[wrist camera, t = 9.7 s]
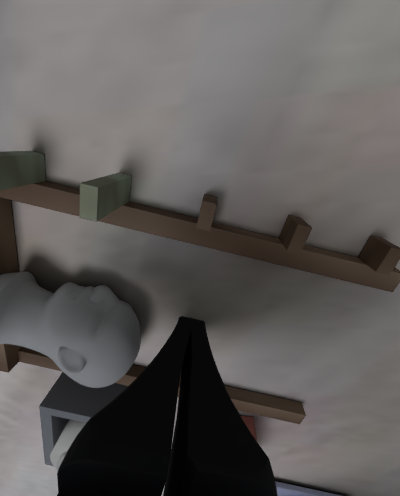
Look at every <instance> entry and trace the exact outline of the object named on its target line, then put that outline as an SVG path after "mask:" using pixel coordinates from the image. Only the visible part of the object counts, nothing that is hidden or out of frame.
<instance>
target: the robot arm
mask: <svg viewBox="0 0 400 496" xmlns="http://www.w3.org/2000/svg"><path fill="white" fill-rule="evenodd" d="M180 375H181V379H180ZM179 382H180V390H179V402H178V412H177V420H176V425H175V431H174V437H173V428H174V420H175V412H176V404H177V396H178V389H179ZM172 437H173V443H172ZM171 446H172V449H171ZM57 476H58V491H59V493H58V495H57V496H161V494H162V491H163V488H164V485H165V489H164V494H163V496H341V495H337V494H332V493H328V492H323V491H318V490H314V489H309V488H304V487H300V486H295V485H290V484H286V483H281V482H276V481H275V479H274V475H273V471H272V468H271V464H270V461H269V458H268V457H267V455H266V454H265V453H264V451H263V450H262V448H261V447H260V446H259V444H258V443H257V441H256V440H255V438H254V437H253V435H252V434H251V432H250V431H249V429H248V427H247V426H246V424H245V423H244V421H243V419H242V418H241V416H240V414H239V412H238V411H237V409H236V407H235V405H234V404H233V402H232V400H231V398H230V396H229V394H228V392H227V390H226V388H225V386H224V383H223V381H222V379H221V377H220V374H219V372H218V369H217V366H216V364H215V361H214V358H213V355H212V352H211V348H210V345H209V341H208V337H207V333H206V327H205V323H204V321H201V320H196V319H192V318H188V317H183V316H181V317H179V320H178V323H177V325H176V327H175V329H174V331H173V332H172V334H171V336H170V337H169V339H168V340H167V342H166V343H165V345H164V346H163V348H162V349H161V350H160V352H159V353H158V354H157V356H156V357H155V358H154V359H153V361H152V362H151V363H150V364H149V365H148V366H147V368H146V369H145V370H144V371H143V372H142V373H141V374H140V375H139V376H138V377H137V378H136V379H135V380H134V381H133V382H132V383H131V384H130V385H129V386H128V387H127V388H126V389H125V390H124V391H123V392H121V393H120V394H119V395H118V396H117V397H116V398H115V399H114V400H112V401H111V402H110V403H109V404H108V405H106V406H105V407H104V408H103V409H101V410H100V411H99V412H97V413H96V414H95V415H94V416H92V417H91V418H90V419H89V420H88V422H87V423H86V424H85V425H84V427H83V428H82V429H81V431H80V432H79V433H78V435H77V436H76V438H75V439H74V441H73V442H72V444H71V446H70V447H69V449H68V451H67V453H66V455H65V457H64V459H63V461H62V463H61V465H60V467H59V469H58V473H57Z"/></svg>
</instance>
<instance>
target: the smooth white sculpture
mask: <svg viewBox="0 0 400 496" xmlns="http://www.w3.org/2000/svg"><path fill="white" fill-rule="evenodd" d="M140 343H141V337H140V325H139V321H138V319H137V316H136V314H135V312H134V311H133V309H132V308H131V306H130V305H129V304H128V303H126V302H125V301H120V300H119V299H118V298H117V296H116V295H115V294H114V293H113V292H112V291H111V289H110V288H109V287H107V286H105V285H99V286H97V287H95V288H94V287H92V286H88V287H84V286H78V285H76V284H74V283H71V282H68V283H65V284H64V285H62V286H61V287H60V288H59V289H58V290H57V291H56V292H55V293H52V292H49V291H47V290H45V289H43V288H42V287H40V286H39V285H38V283H37V281H36V279H35V278H34V276H33V275H32V274H31V273H29V272H17V273H6V274H2V275H0V344H12V345H18V346H22V347H26V348H29V349H32V350H35V351H37V352H40V353H42V354H44V355H46V356H48V357H49V358H51V359H52V360H53V361H54V362H55V364H56V365H57V366H58V367H59V368H60V369H61V370H62V371H63V372H64V373H65V374H66V375H67V376H69V377H70V378H71V379H73V380H74V381H76V382H78V383H79V384H81V385H84V386H87V387H92V388H101V387H106V386H109V385H112V384H114V383H115V382H117V381H118V380H120V379H121V378H122V377H123V376H124V375H125V374H126V373H127V371H128V370H129V369H130V367H131V366H132V364H133V363H134V361H135V359H136V357H137V355H138V352H139V349H140Z"/></svg>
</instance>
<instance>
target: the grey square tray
mask: <svg viewBox="0 0 400 496" xmlns="http://www.w3.org/2000/svg"><path fill="white" fill-rule="evenodd" d="M127 387H128V386H126V385H122V384H118V383H114V384H112V385H109V386H106V387H101V388H92V387H87V386H84V385H81V384H79V383H78V382H76V381H74V380H73V379H71V378H70V377H69V376H67V375H66V374H65V373H64V372H62V374H61V375H60V377H59V378H58V380H57V381H56V383H55V384H54V385H53V387H52V388H51V390H50V391H49V393H48V394H47V396H46V397H45V399H44V400H43V401H42V403H41V404H40V406H39V408H40V418H41V428H42V438H43V448H44V458H45V464H47V465H51V466H53V464H52V463H51V460H50V454H51V452H52V450H53V448H54V446H55V444H56V443H57V441H58V439H59V437H60V435H61V433H62V432H63V430H64V428H65V426H66V424H67V422H68V421H69V419H70V420H75V421H79V422H84V423H87V422H88V420H89V419H90V418H91V417H92V416H94V415H95V414H96V413H97V412H99V411H100V410H101V409H103V408H104V407H105V406H106V405H108V404H109V403H110V402H111V401H112V400H114V399H115V398H116V397H117V396H118V395H119V394H120V393H121V392H123V391H124V390H125V389H126V388H127Z"/></svg>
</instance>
